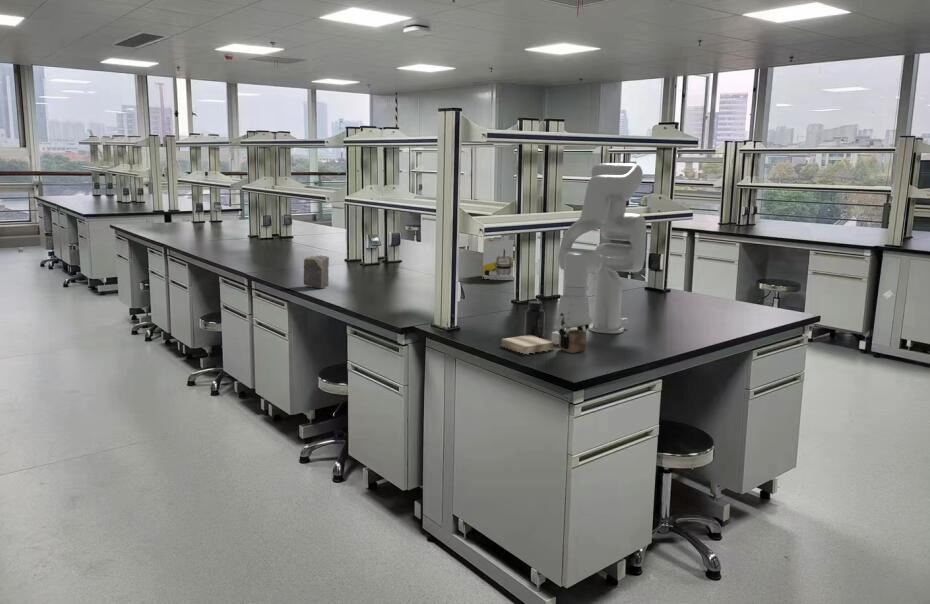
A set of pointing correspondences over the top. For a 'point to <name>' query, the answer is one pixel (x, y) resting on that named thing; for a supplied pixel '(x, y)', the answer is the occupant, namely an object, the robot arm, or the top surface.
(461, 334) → the top surface
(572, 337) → the walnut cube
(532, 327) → the supplement bottle
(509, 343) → the oak block
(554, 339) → the grey plastic block
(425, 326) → the top surface
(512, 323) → the top surface
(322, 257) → the geological specimen
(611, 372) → the top surface
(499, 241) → the packaging box
